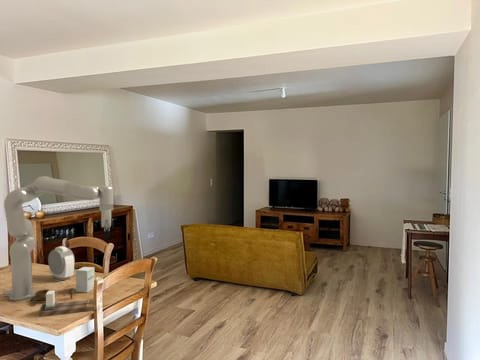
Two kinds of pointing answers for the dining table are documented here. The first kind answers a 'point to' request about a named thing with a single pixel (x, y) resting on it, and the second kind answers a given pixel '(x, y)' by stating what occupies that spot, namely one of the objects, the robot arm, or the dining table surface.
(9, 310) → the dining table surface
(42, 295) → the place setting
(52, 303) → the fader knob
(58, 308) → the fader panel
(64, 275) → the alarm clock
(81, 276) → the supplement box
